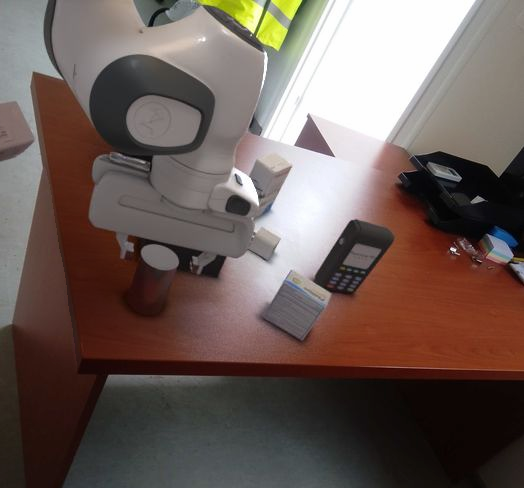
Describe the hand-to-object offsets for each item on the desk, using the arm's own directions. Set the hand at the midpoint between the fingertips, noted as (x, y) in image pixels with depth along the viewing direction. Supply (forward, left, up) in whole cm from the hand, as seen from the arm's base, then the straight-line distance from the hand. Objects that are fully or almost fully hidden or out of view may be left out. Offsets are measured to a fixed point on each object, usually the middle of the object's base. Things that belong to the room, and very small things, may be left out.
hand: (160, 263), depth 63 cm
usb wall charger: (+22, +21, -8) cm, 31 cm away
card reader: (+38, +14, -8) cm, 41 cm away
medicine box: (+24, +1, -8) cm, 25 cm away
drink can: (0, 0, -8) cm, 8 cm away
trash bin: (+6, +16, -8) cm, 19 cm away
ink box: (+24, +35, -8) cm, 43 cm away
